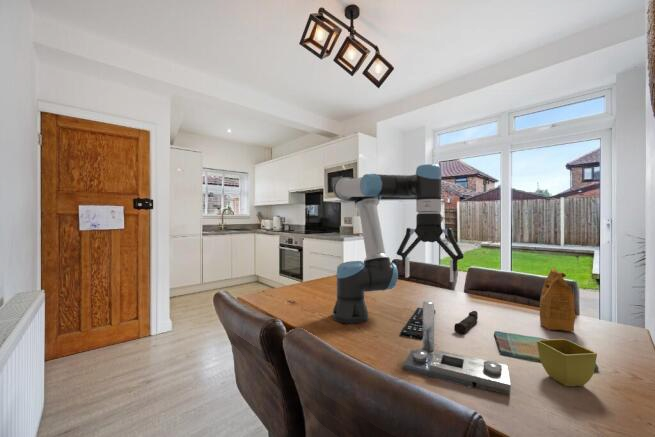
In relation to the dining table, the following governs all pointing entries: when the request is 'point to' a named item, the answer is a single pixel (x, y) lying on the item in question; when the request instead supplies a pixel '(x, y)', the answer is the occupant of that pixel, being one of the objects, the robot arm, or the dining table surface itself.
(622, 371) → the dining table surface
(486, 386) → the grey block with knob
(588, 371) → the flower pot
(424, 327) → the steel pin
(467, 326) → the hand tool
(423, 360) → the lower chain end
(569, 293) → the coffee package
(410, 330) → the remote control
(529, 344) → the dish towel
